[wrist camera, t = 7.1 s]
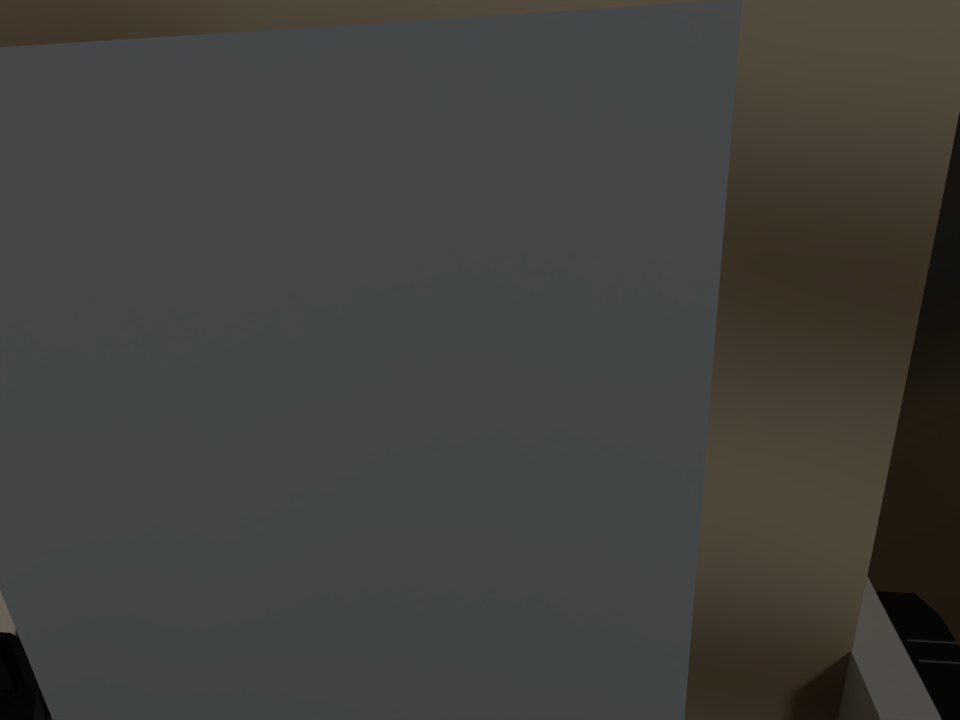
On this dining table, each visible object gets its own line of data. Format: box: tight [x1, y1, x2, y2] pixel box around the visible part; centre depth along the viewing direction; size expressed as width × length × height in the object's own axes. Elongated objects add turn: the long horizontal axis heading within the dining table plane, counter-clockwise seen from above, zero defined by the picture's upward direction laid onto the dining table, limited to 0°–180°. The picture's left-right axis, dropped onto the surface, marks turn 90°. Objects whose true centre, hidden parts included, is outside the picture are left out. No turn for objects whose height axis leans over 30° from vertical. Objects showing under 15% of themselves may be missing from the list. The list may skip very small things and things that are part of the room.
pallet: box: [0, 0, 960, 720], centre depth 15 cm, size 22×11×6 cm, turn 3°
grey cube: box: [0, 0, 742, 720], centre depth 7 cm, size 5×5×5 cm
